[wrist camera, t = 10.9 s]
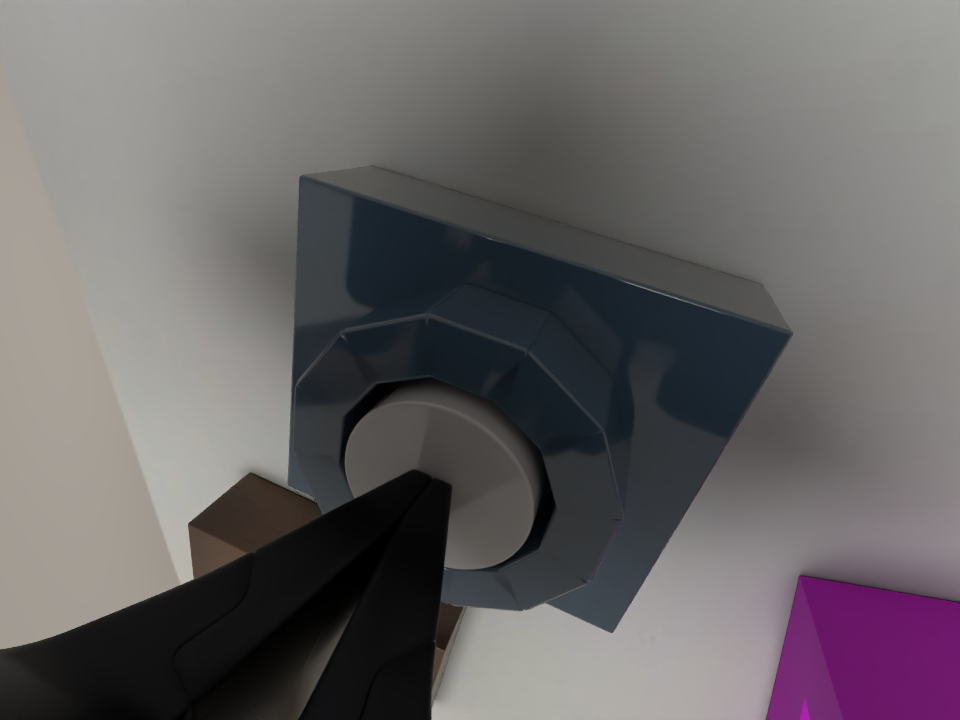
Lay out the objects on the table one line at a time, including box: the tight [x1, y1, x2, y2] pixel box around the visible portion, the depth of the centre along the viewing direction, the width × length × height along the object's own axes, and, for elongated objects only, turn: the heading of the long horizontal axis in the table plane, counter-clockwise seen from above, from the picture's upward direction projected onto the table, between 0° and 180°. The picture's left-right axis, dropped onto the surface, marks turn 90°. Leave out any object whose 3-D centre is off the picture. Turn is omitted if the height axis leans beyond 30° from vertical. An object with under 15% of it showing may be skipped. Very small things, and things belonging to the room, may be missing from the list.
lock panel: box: [188, 473, 466, 708], centre depth 20 cm, size 10×9×3 cm
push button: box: [345, 377, 548, 570], centre depth 10 cm, size 4×4×2 cm
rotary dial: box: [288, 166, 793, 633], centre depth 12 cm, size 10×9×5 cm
